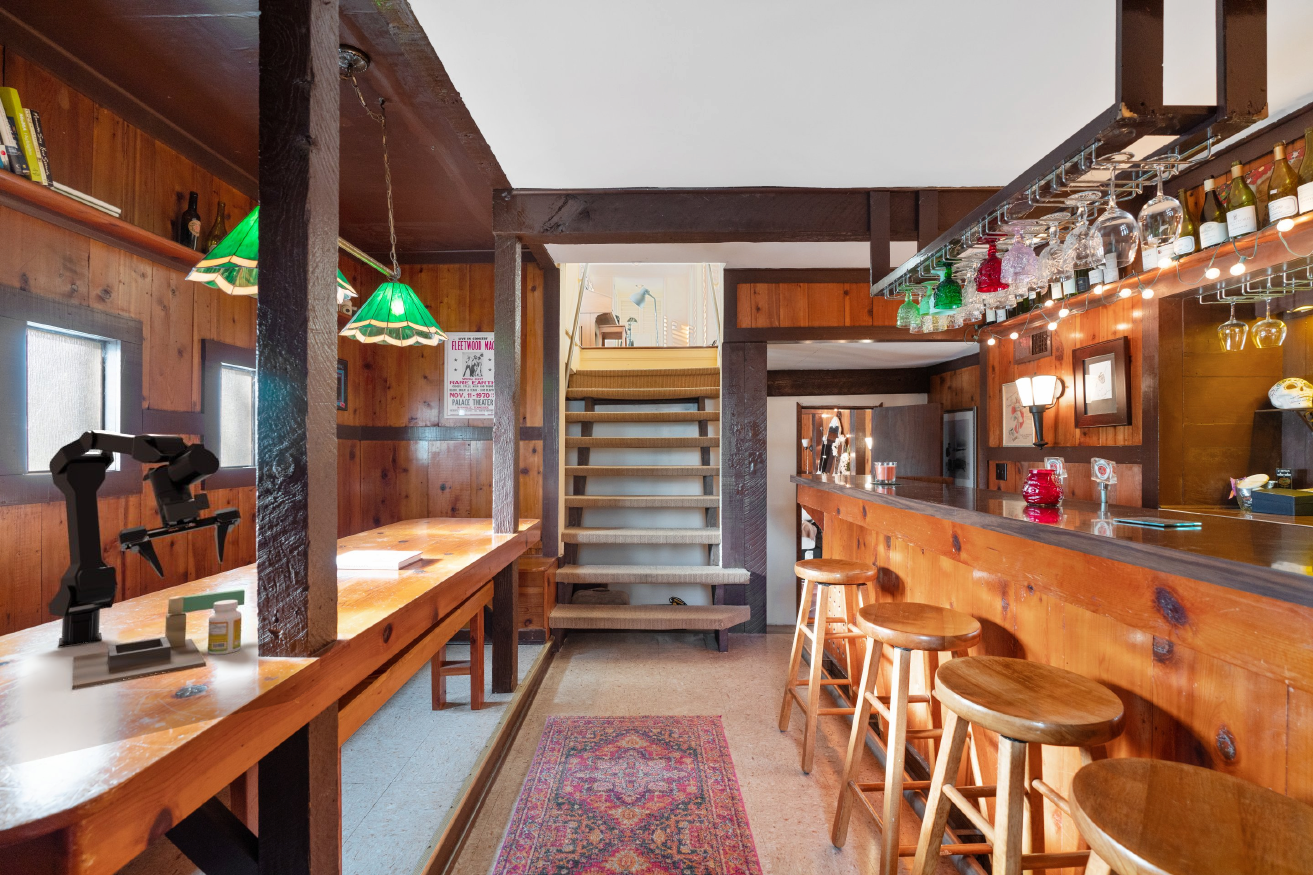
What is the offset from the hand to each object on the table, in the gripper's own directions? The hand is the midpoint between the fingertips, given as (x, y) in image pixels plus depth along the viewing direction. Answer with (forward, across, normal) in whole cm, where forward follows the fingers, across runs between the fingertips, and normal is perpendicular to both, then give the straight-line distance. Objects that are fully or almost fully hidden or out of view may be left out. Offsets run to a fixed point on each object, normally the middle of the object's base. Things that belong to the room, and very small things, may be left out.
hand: (192, 569), depth 119 cm
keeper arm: (+6, +2, +13) cm, 15 cm away
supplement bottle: (+16, +2, +7) cm, 18 cm away
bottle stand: (+13, -10, +8) cm, 19 cm away
